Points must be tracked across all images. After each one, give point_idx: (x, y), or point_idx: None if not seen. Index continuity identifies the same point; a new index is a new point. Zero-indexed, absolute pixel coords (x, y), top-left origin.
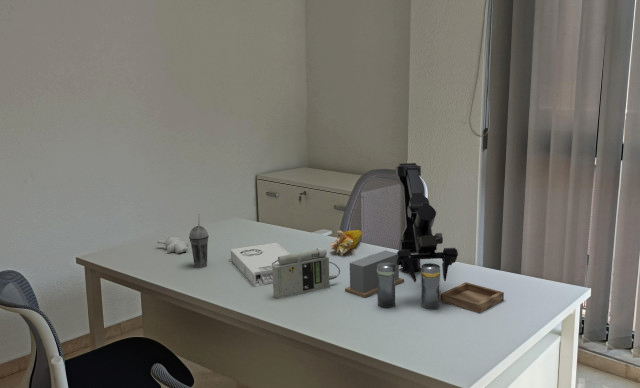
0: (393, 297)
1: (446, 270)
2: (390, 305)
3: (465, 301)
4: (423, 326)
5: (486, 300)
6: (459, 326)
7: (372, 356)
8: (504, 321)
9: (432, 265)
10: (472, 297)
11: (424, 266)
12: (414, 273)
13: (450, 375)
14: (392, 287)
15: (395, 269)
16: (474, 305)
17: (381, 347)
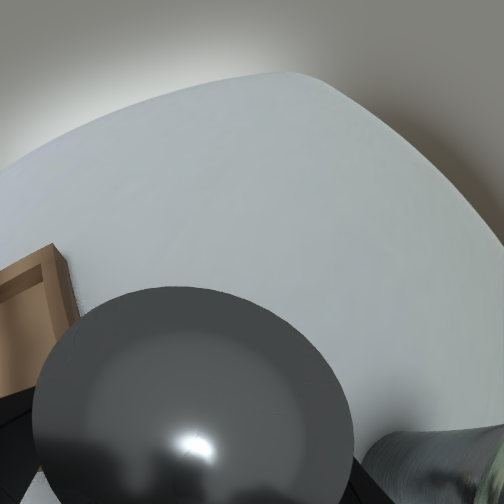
0: (401, 446)
1: (3, 404)
2: (395, 434)
3: (64, 303)
4: (315, 233)
5: (6, 270)
6: (195, 194)
7: (432, 164)
8: (59, 187)
9: (128, 472)
10: (5, 386)
11: (299, 478)
12: (364, 493)
13: (315, 85)
14: (443, 443)
15: (499, 489)
16: (58, 265)
17: (424, 181)
